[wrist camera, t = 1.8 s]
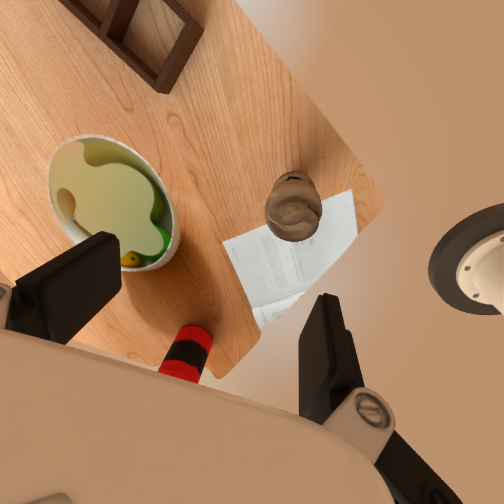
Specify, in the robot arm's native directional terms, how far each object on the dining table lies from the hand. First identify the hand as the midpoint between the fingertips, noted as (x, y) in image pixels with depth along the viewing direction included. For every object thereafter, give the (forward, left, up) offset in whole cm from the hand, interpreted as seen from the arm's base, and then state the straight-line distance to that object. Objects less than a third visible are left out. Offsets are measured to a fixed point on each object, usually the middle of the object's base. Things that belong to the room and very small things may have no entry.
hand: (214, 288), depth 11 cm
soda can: (+16, +34, -27) cm, 46 cm away
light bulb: (-3, +1, -27) cm, 28 cm away
